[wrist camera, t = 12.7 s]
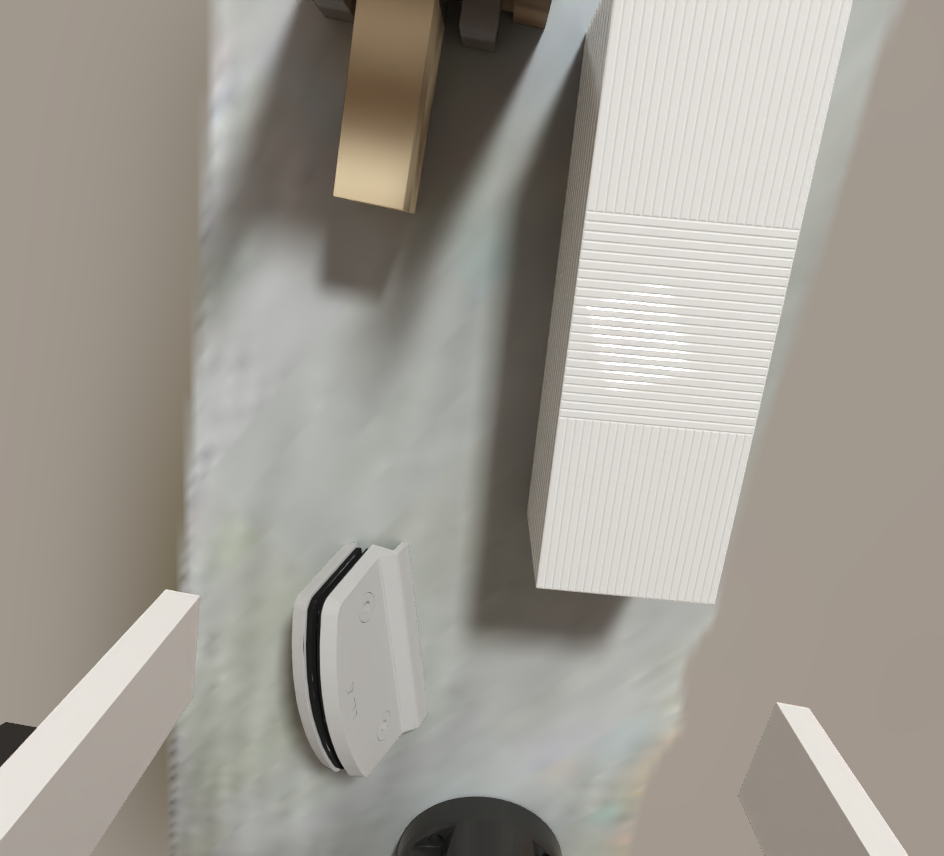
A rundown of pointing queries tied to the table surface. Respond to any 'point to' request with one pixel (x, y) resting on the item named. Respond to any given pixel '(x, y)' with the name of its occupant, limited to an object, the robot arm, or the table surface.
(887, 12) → the table surface
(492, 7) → the wooden cleated plank
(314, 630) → the white rounded block
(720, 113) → the white ribbed block
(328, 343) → the table surface
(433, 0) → the tan wooden block
